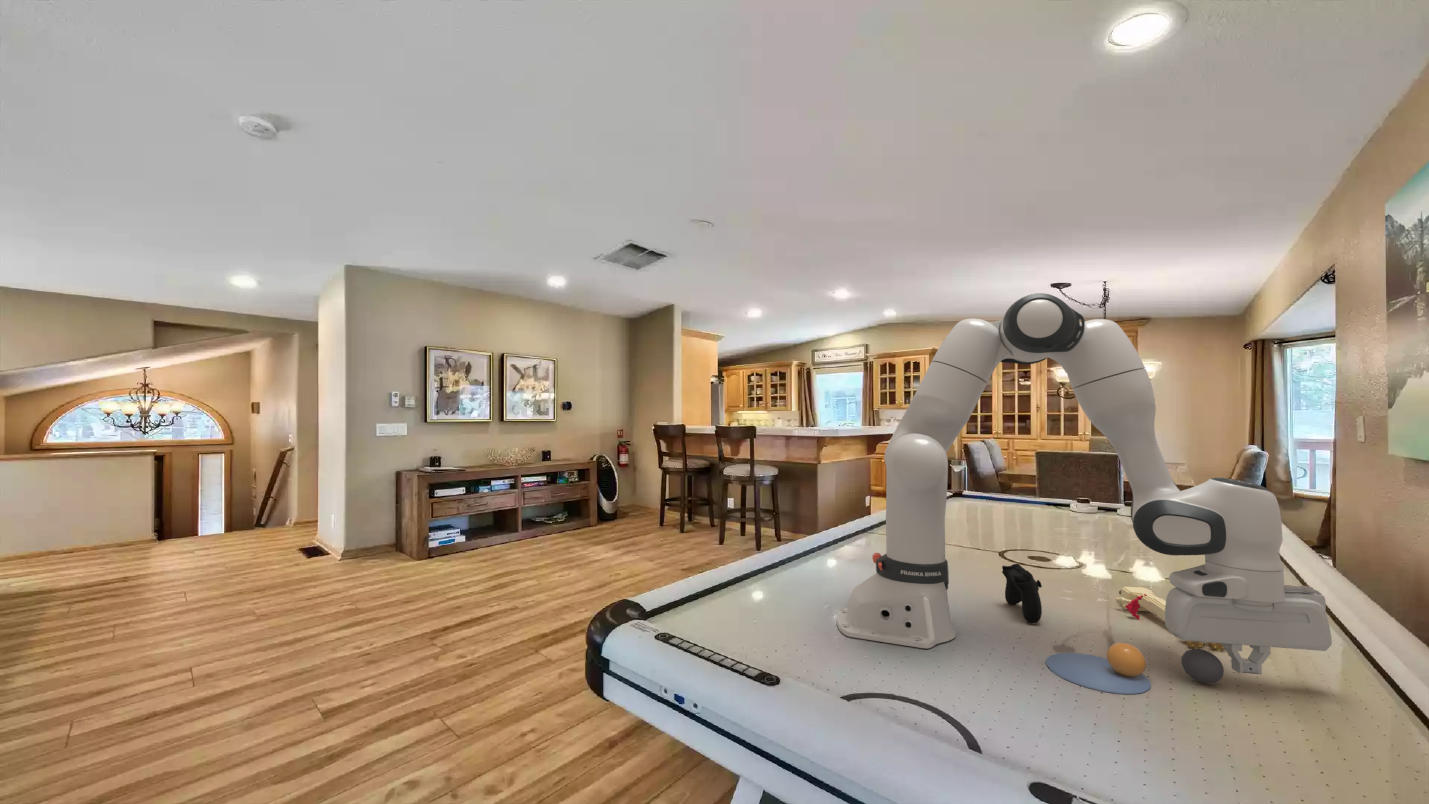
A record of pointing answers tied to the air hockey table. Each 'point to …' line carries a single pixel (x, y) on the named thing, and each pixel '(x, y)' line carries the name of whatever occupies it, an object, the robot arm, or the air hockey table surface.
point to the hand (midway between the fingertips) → (1246, 672)
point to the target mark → (1095, 674)
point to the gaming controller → (1023, 591)
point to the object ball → (1126, 659)
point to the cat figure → (1152, 609)
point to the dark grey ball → (1202, 666)
